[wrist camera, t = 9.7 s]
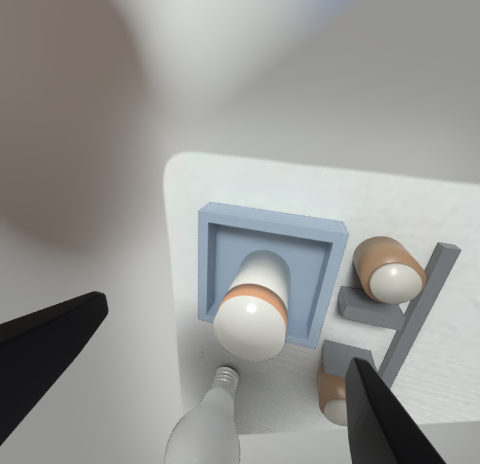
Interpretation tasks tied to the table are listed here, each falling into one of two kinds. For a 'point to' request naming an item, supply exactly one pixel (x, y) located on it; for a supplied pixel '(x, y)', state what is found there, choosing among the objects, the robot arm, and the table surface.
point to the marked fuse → (255, 308)
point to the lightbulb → (208, 427)
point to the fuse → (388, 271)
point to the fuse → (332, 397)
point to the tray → (281, 242)
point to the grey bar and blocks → (389, 318)
